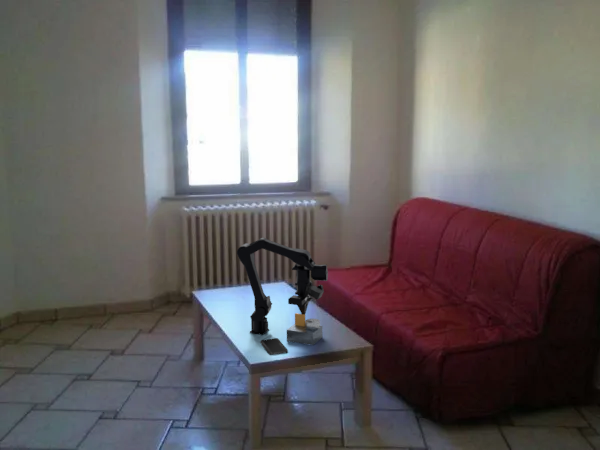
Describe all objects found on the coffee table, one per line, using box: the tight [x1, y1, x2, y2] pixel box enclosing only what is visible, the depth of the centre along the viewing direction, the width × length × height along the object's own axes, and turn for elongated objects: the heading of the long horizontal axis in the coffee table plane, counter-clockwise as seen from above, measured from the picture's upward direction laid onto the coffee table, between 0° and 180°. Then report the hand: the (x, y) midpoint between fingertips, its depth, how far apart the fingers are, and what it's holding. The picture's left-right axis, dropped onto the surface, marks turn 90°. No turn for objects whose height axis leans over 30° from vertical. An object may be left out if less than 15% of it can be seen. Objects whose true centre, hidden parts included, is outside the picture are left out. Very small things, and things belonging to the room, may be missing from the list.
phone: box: [259, 337, 289, 356], centre depth 239 cm, size 8×1×15 cm
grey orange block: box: [294, 312, 306, 326], centre depth 250 cm, size 4×3×5 cm, turn 65°
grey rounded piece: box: [305, 318, 321, 330], centre depth 247 cm, size 6×6×7 cm
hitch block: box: [286, 323, 323, 346], centre depth 247 cm, size 12×10×5 cm
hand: (303, 315), depth 253 cm, fingers closed
